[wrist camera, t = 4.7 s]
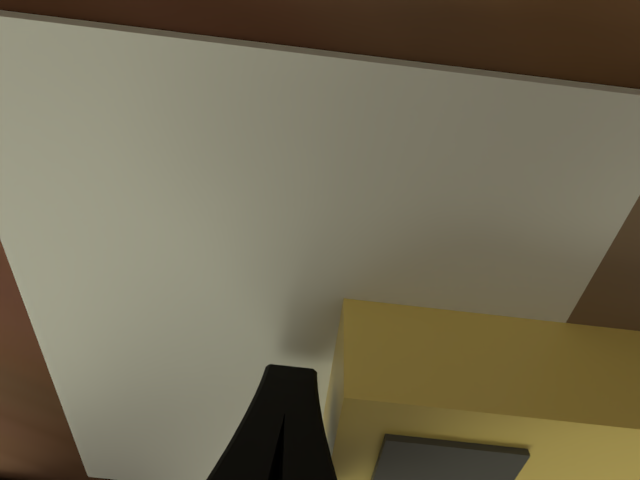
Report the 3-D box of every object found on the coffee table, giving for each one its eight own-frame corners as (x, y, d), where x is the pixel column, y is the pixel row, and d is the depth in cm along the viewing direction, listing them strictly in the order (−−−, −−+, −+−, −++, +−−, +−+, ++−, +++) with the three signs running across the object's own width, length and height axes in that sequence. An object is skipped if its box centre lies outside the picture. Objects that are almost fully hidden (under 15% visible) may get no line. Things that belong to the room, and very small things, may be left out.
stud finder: (596, 446, 13) (662, 562, 10) (323, 417, 13) (318, 527, 10) (684, 335, 10) (804, 453, 8) (343, 298, 10) (344, 404, 8)
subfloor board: (670, 514, 17) (687, 541, 16) (101, 452, 16) (87, 476, 16) (1096, 145, 8) (1182, 162, 8) (-41, 4, 8) (-86, 5, 7)
